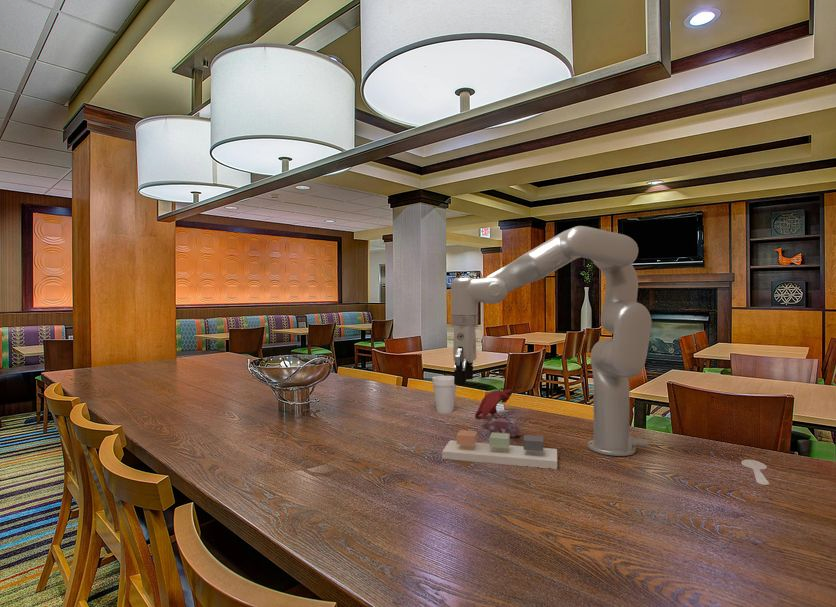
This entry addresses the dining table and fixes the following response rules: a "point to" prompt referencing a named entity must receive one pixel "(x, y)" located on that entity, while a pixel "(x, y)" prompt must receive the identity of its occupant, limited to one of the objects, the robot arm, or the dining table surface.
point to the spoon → (756, 470)
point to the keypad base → (501, 455)
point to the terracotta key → (467, 437)
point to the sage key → (499, 440)
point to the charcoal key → (533, 442)
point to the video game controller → (503, 426)
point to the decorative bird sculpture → (492, 403)
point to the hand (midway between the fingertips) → (463, 381)
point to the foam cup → (444, 393)
